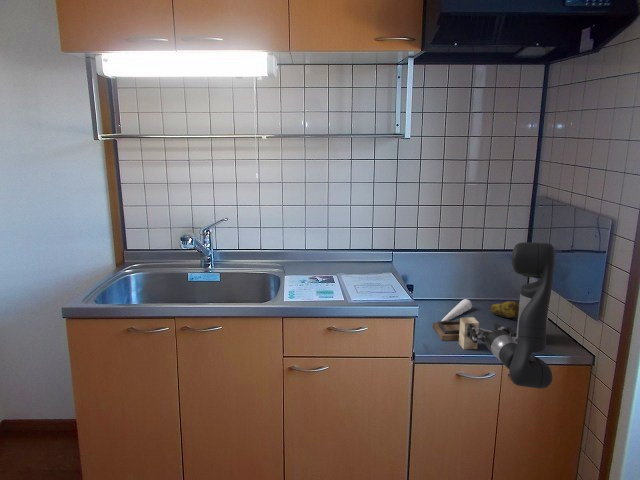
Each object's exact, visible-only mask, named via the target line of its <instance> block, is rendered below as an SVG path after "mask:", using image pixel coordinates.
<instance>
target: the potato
mask: <svg viewBox="0 0 640 480" xmlns="http://www.w3.org/2000/svg"><path fill="white" fill-rule="evenodd" d="M490 311H491V313H492V314H493V315H496V316H500V317H503V318H518V313H519V302H518V301H512V300H507V301H505V302H502V303H501V302H500V303H493V304H492V305H491V306H490Z"/></svg>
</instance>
